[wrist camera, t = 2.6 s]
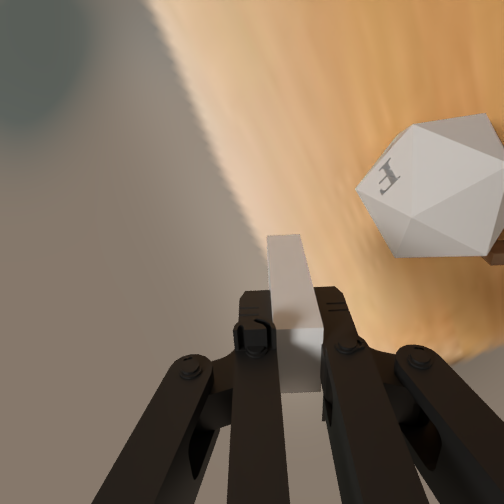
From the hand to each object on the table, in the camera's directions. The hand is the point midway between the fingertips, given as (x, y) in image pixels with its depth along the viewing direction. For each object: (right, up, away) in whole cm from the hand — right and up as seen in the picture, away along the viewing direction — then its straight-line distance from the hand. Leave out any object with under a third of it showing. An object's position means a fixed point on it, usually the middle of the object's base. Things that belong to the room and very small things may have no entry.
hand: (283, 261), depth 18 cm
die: (+10, +6, +10) cm, 15 cm away
